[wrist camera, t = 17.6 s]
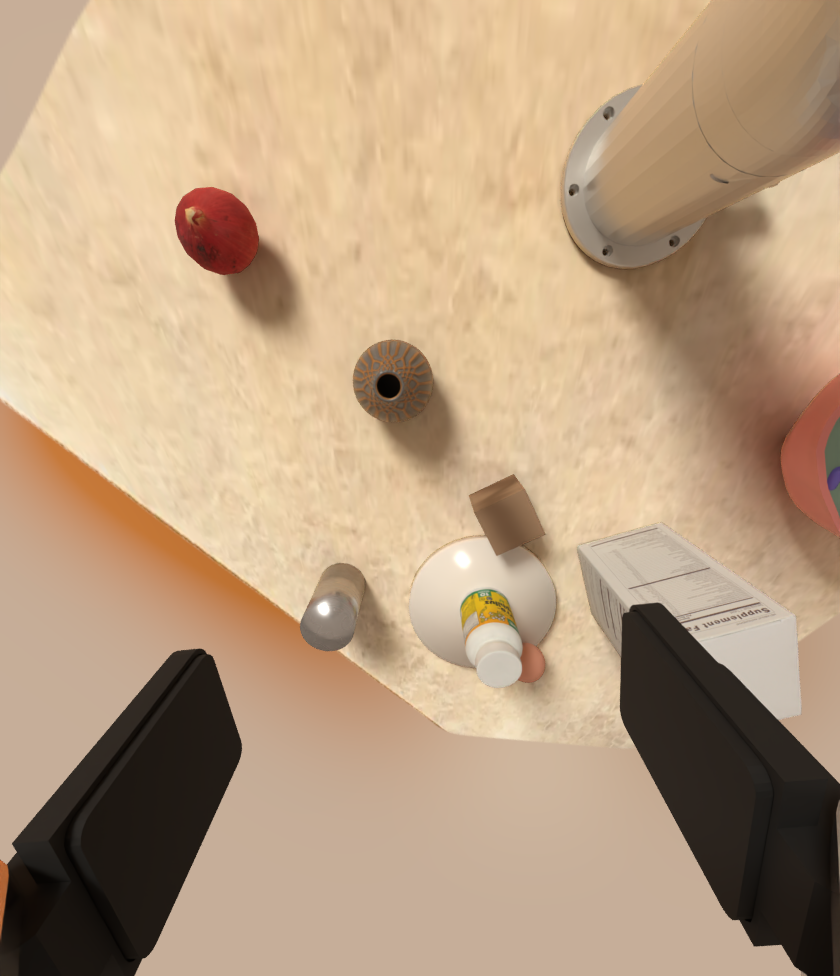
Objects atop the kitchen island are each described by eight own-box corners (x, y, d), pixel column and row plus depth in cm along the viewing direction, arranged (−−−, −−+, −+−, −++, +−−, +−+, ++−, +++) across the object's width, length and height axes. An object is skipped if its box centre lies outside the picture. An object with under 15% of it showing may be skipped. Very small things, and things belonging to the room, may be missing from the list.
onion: (264, 290, 38) (223, 274, 30) (200, 268, 37) (142, 247, 30) (277, 219, 36) (238, 182, 28) (210, 195, 35) (151, 152, 28)
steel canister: (362, 562, 46) (350, 604, 38) (367, 601, 47) (356, 649, 40) (317, 564, 46) (296, 606, 38) (323, 603, 47) (304, 652, 40)
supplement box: (589, 615, 48) (674, 748, 32) (573, 544, 45) (656, 650, 29) (675, 593, 47) (807, 719, 31) (664, 519, 44) (802, 615, 28)
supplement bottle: (450, 612, 46) (456, 677, 37) (477, 576, 45) (491, 634, 35) (490, 635, 47) (506, 703, 38) (519, 600, 45) (542, 662, 36)
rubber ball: (539, 633, 47) (549, 657, 43) (540, 662, 48) (550, 689, 44) (503, 636, 47) (510, 661, 43) (505, 665, 48) (512, 692, 44)
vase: (444, 361, 39) (450, 363, 31) (414, 427, 41) (411, 446, 33) (377, 328, 38) (363, 320, 30) (348, 397, 40) (329, 408, 32)
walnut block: (513, 473, 43) (524, 488, 38) (532, 514, 44) (545, 534, 39) (468, 495, 43) (474, 512, 39) (488, 534, 45) (496, 556, 40)
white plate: (550, 527, 44) (554, 532, 43) (554, 652, 49) (558, 660, 48) (400, 543, 45) (399, 549, 44) (418, 665, 50) (418, 674, 49)
